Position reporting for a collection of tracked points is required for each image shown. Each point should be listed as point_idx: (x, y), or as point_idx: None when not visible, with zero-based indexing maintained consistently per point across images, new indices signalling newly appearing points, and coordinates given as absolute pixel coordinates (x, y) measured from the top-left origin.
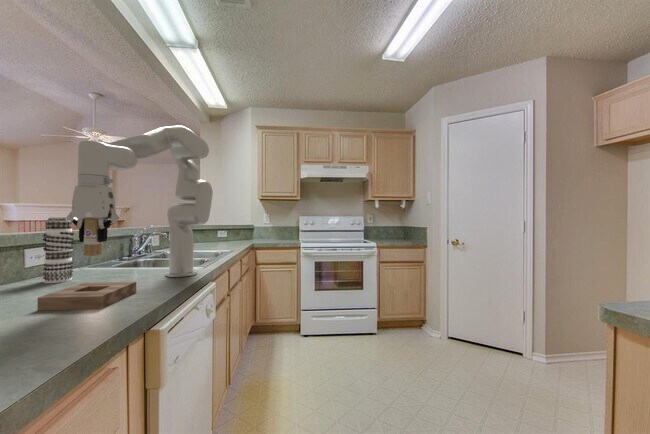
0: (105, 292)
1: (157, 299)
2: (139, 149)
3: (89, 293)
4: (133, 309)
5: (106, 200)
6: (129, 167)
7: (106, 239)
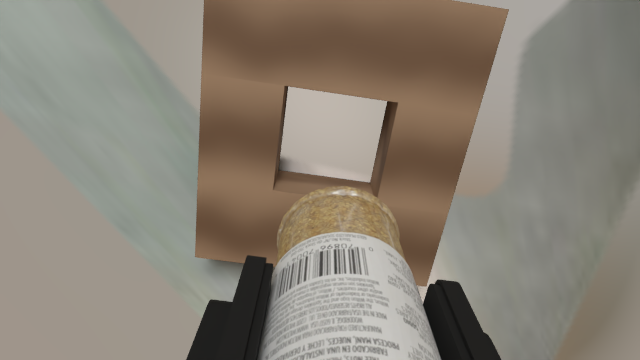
0: (420, 232)
1: (596, 179)
2: None
3: None
4: (523, 284)
5: None
6: None
7: (461, 289)
